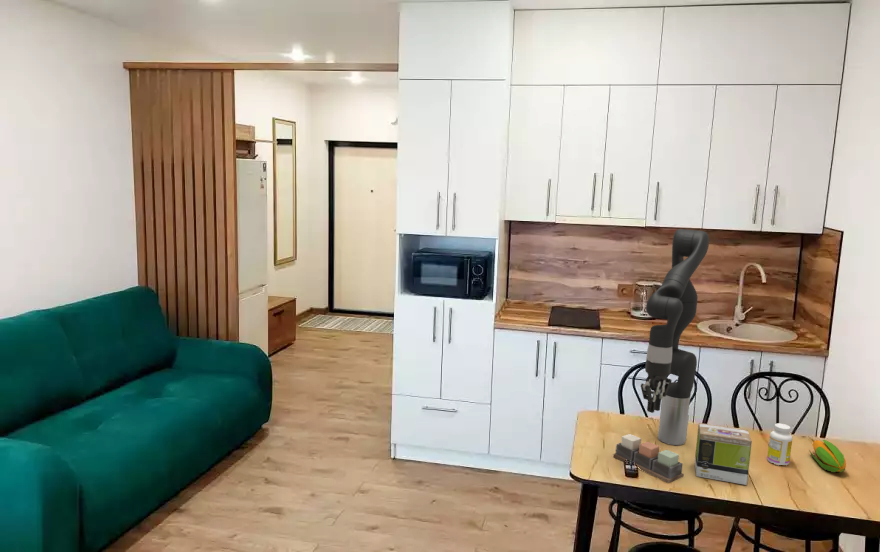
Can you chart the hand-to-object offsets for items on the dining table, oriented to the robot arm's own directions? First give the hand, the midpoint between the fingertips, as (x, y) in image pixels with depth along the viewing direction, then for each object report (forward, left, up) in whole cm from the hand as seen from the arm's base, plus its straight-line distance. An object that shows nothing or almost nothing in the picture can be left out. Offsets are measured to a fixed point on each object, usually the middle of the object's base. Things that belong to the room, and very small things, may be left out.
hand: (653, 410), depth 206 cm
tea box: (-15, +16, -19) cm, 30 cm away
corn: (-54, +31, -19) cm, 66 cm away
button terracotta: (0, 0, -16) cm, 16 cm away
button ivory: (0, -7, -16) cm, 17 cm away
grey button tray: (0, 0, -19) cm, 19 cm away
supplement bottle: (-41, +22, -19) cm, 51 cm away
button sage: (0, +7, -16) cm, 17 cm away
